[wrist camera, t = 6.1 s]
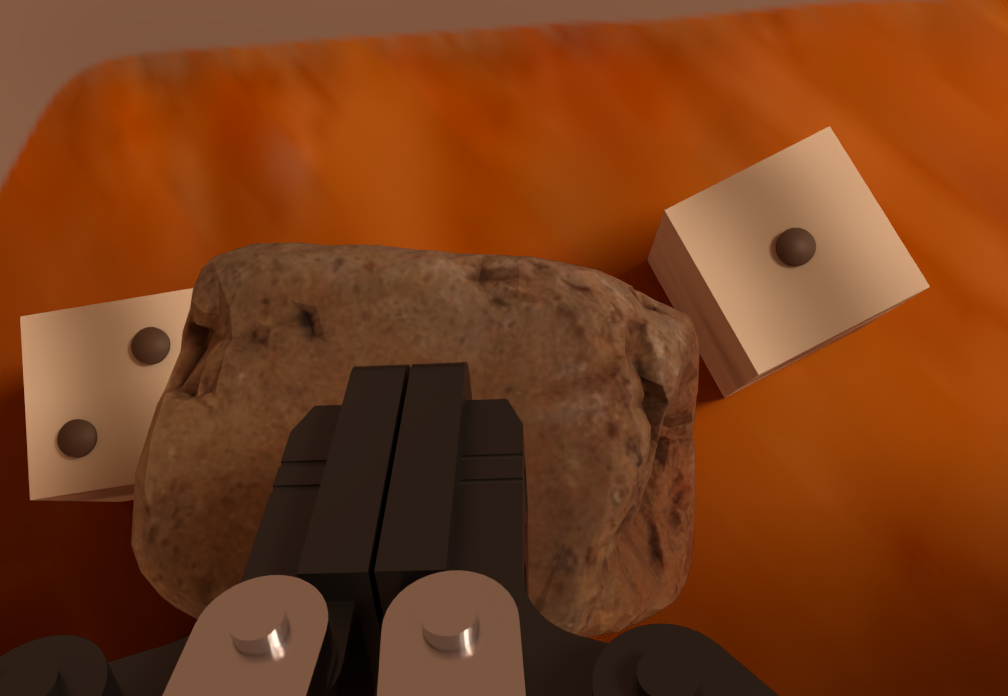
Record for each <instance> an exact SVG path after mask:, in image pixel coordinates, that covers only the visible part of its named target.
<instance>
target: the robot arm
mask: <svg viewBox="0 0 1008 696" xmlns="http://www.w3.org/2000/svg"><path fill="white" fill-rule="evenodd" d="M0 696H778V695H777V694H776V693H775V692H774V691H772V690H771V689H770V688H769V687H768V686H766V685H765V684H764V683H763V682H762V681H761V680H759V679H758V678H757V677H756V676H755V675H754V674H752V673H751V672H750V671H749V670H748V669H746V668H745V667H744V666H743V665H742V664H741V663H739V662H738V661H737V660H736V659H735V658H734V657H732V656H731V655H730V654H729V653H728V652H727V651H725V650H724V649H723V648H722V647H721V646H719V645H718V644H717V643H715V642H714V641H713V640H711V639H710V638H708V637H707V636H705V635H703V634H701V633H699V632H697V631H694V630H692V629H689V628H686V627H682V626H677V625H671V624H649V625H644V626H640V627H636V628H633V629H631V630H628V631H626V632H624V633H622V634H621V635H619V636H617V637H616V638H615V639H613V640H612V641H611V642H610V643H609V644H608V643H604V642H601V641H597V640H593V639H590V638H586V637H582V636H579V635H576V634H573V633H570V632H567V631H565V630H563V629H561V628H559V627H557V626H556V625H554V624H553V623H551V622H550V621H548V620H547V619H546V618H545V617H544V616H543V615H541V614H540V613H539V612H538V611H537V609H536V608H535V607H534V605H533V604H532V603H531V601H530V599H529V595H528V497H527V481H526V464H525V448H524V432H523V423H522V421H521V420H520V418H519V417H518V415H517V414H516V412H515V410H514V409H513V407H512V406H511V404H510V403H509V401H508V399H485V400H472V392H471V382H470V373H469V367H468V363H467V362H454V363H427V364H412V366H411V367H410V365H409V364H407V365H380V366H354V367H353V368H352V370H351V373H350V377H349V381H348V384H347V388H346V392H345V395H344V399H343V403H342V405H321V406H314V407H313V408H312V409H311V410H310V411H309V412H308V413H307V414H306V416H305V417H304V418H303V419H302V420H301V421H300V422H299V423H298V424H297V425H296V426H295V427H294V429H293V430H292V431H291V432H290V435H289V438H288V441H287V444H286V447H285V450H284V453H283V456H282V459H281V467H279V468H278V471H277V474H276V477H275V480H274V483H273V492H270V495H269V498H268V501H267V504H266V507H265V510H264V513H263V516H262V519H261V522H260V525H259V528H258V531H257V534H256V537H255V540H254V543H253V546H252V549H251V552H250V555H249V558H248V561H247V564H246V567H245V570H244V573H243V576H242V579H241V582H240V584H237V585H235V586H233V587H232V588H230V589H228V590H226V591H225V592H223V593H222V594H221V595H219V596H218V597H217V598H215V599H214V600H213V601H212V602H211V603H210V604H209V605H208V606H207V607H206V608H205V610H204V611H203V612H202V614H201V615H200V616H199V618H198V620H197V622H196V623H195V625H194V627H193V630H192V632H191V634H190V635H189V636H187V637H184V638H182V639H180V640H178V641H175V642H173V643H170V644H167V645H164V646H161V647H157V648H154V649H151V650H147V651H144V652H141V653H137V654H134V655H130V656H127V657H124V658H120V659H117V660H114V661H110V662H107V660H106V658H105V656H104V654H103V652H102V651H101V650H100V648H99V647H98V646H97V645H96V644H94V643H93V642H91V641H90V640H87V639H85V638H83V637H79V636H73V635H55V636H47V637H43V638H39V639H35V640H33V641H30V642H27V643H25V644H22V645H20V646H18V647H16V648H14V649H12V650H10V651H9V652H7V653H5V654H4V655H2V656H1V657H0Z"/></svg>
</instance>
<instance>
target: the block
mask: <svg viewBox="0 0 1008 696" xmlns="http://www.w3.org/2000/svg"><path fill="white" fill-rule="evenodd" d="M454 362H467V363H468V367H469V373H470V382H471V392H472V400H485V399H508V401H509V403H510V404H511V406H512V407H513V409H514V410H515V412H516V414H517V415H518V417H519V418H520V420H521V421H522V423H523V432H524V448H525V464H526V481H527V497H528V595H529V599H530V601H531V603H532V604H533V605H534V607H535V608H536V609H537V611H538V612H539V613H540V614H541V615H543V616H544V617H545V618H546V619H547V620H548V621H550V622H551V623H553V624H554V625H556V626H557V627H559V628H561V629H563V630H565V631H567V632H570V633H573V634H576V635H579V636H582V637H591V636H596V635H600V634H605V633H617V632H619V631H621V630H622V629H624V628H626V627H628V626H631V625H633V624H636V623H638V622H640V621H642V620H644V619H646V618H648V617H650V616H651V615H653V614H655V613H657V612H658V611H660V610H662V609H664V608H665V607H667V606H669V605H670V604H672V603H673V602H674V601H675V600H676V599H677V597H678V595H679V594H680V592H681V590H682V588H683V587H684V585H685V583H686V579H687V576H688V573H689V570H690V567H691V559H692V552H693V545H694V487H695V446H694V435H693V429H694V420H695V412H696V397H697V394H698V376H699V341H698V336H697V334H696V332H695V328H694V324H693V322H692V321H691V319H690V317H689V316H688V315H687V314H685V313H682V312H680V311H678V310H676V309H674V308H672V307H669V306H667V305H665V304H663V303H661V302H658V301H656V300H654V299H652V298H650V297H649V296H647V295H645V294H643V293H642V292H639V291H636V290H634V288H633V287H632V286H631V285H629V284H627V283H625V282H623V281H621V280H619V279H617V278H615V277H613V276H611V275H608V274H606V273H604V272H601V271H599V270H596V269H592V268H587V267H582V266H578V265H573V264H568V263H564V262H558V261H553V260H547V259H541V258H536V257H530V256H508V255H485V254H456V253H448V252H441V251H430V250H415V249H406V248H397V247H389V246H380V245H318V244H309V243H261V244H251V245H248V246H244V247H241V248H238V249H235V250H232V251H229V252H226V253H223V254H220V255H218V256H215V257H213V258H212V259H211V260H210V261H209V262H208V263H207V264H206V265H205V266H204V267H203V268H202V270H201V272H200V274H199V276H198V279H197V281H196V283H195V286H194V288H193V292H192V298H191V305H190V310H189V313H188V316H187V319H186V323H185V326H184V329H183V332H182V342H181V351H180V354H179V356H178V358H177V361H176V363H175V366H174V368H173V371H172V373H171V375H170V378H169V380H168V383H167V385H166V388H165V390H164V392H163V394H162V396H161V398H160V400H159V402H158V403H157V406H156V409H155V412H154V415H153V419H152V422H151V425H150V428H149V431H148V434H147V437H146V440H145V443H144V447H143V450H142V453H141V456H140V459H139V462H138V465H137V468H136V472H135V485H134V503H133V521H132V539H131V546H132V548H133V551H134V554H135V557H136V560H137V563H138V566H139V569H140V572H141V573H142V574H143V575H144V576H145V578H146V579H147V580H148V581H149V582H150V584H151V585H152V586H153V587H154V588H155V590H156V591H157V592H158V593H159V594H160V596H162V597H163V598H164V599H165V600H167V601H168V602H169V603H170V604H172V605H173V606H174V607H176V608H178V609H179V610H181V611H183V612H185V613H187V614H188V615H190V616H192V617H194V618H196V619H198V618H199V616H200V615H201V614H202V612H203V611H204V610H205V608H206V607H207V606H208V605H209V604H210V603H211V602H212V601H213V600H214V599H215V598H217V597H218V596H219V595H221V594H222V593H223V592H225V591H226V590H228V589H230V588H232V587H233V586H235V585H237V584H240V582H241V579H242V576H243V573H244V570H245V567H246V564H247V561H248V558H249V555H250V552H251V549H252V546H253V543H254V540H255V537H256V534H257V531H258V528H259V525H260V522H261V519H262V516H263V513H264V510H265V507H266V504H267V501H268V498H269V495H270V492H273V483H274V480H275V477H276V474H277V471H278V468H279V467H281V459H282V456H283V453H284V450H285V447H286V444H287V441H288V438H289V435H290V432H291V431H292V430H293V429H294V427H295V426H296V425H297V424H298V423H299V422H300V421H301V420H302V419H303V418H304V417H305V416H306V414H307V413H308V412H309V411H310V410H311V409H312V408H313V407H314V406H321V405H342V403H343V399H344V395H345V392H346V388H347V384H348V381H349V377H350V373H351V370H352V368H353V367H354V366H380V365H407V364H409V365H410V367H411V366H412V364H427V363H454Z"/></svg>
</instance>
